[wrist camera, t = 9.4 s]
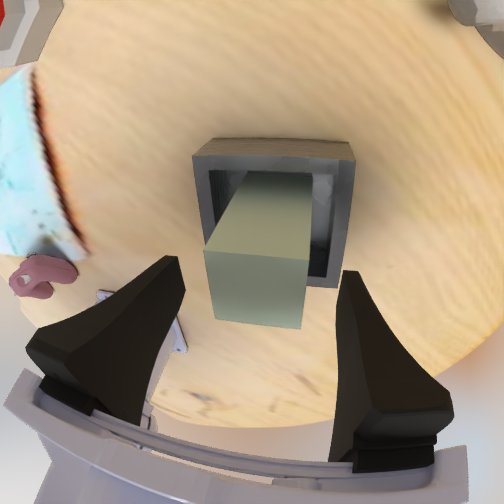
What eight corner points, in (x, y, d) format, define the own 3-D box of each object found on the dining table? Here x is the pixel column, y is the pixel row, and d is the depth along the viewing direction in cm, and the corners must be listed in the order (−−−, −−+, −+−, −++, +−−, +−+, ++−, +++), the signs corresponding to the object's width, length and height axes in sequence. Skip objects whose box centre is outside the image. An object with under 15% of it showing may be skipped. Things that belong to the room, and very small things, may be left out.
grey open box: (224, 246, 22) (210, 277, 19) (212, 138, 17) (191, 156, 14) (335, 254, 20) (337, 288, 18) (348, 142, 16) (355, 161, 13)
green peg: (249, 228, 20) (215, 318, 14) (246, 173, 18) (203, 250, 11) (308, 233, 19) (300, 329, 13) (312, 177, 17) (309, 259, 11)
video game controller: (69, 239, 28) (16, 251, 21) (82, 278, 28) (29, 296, 21) (42, 265, 32) (0, 277, 26) (53, 297, 32) (11, 312, 26)
